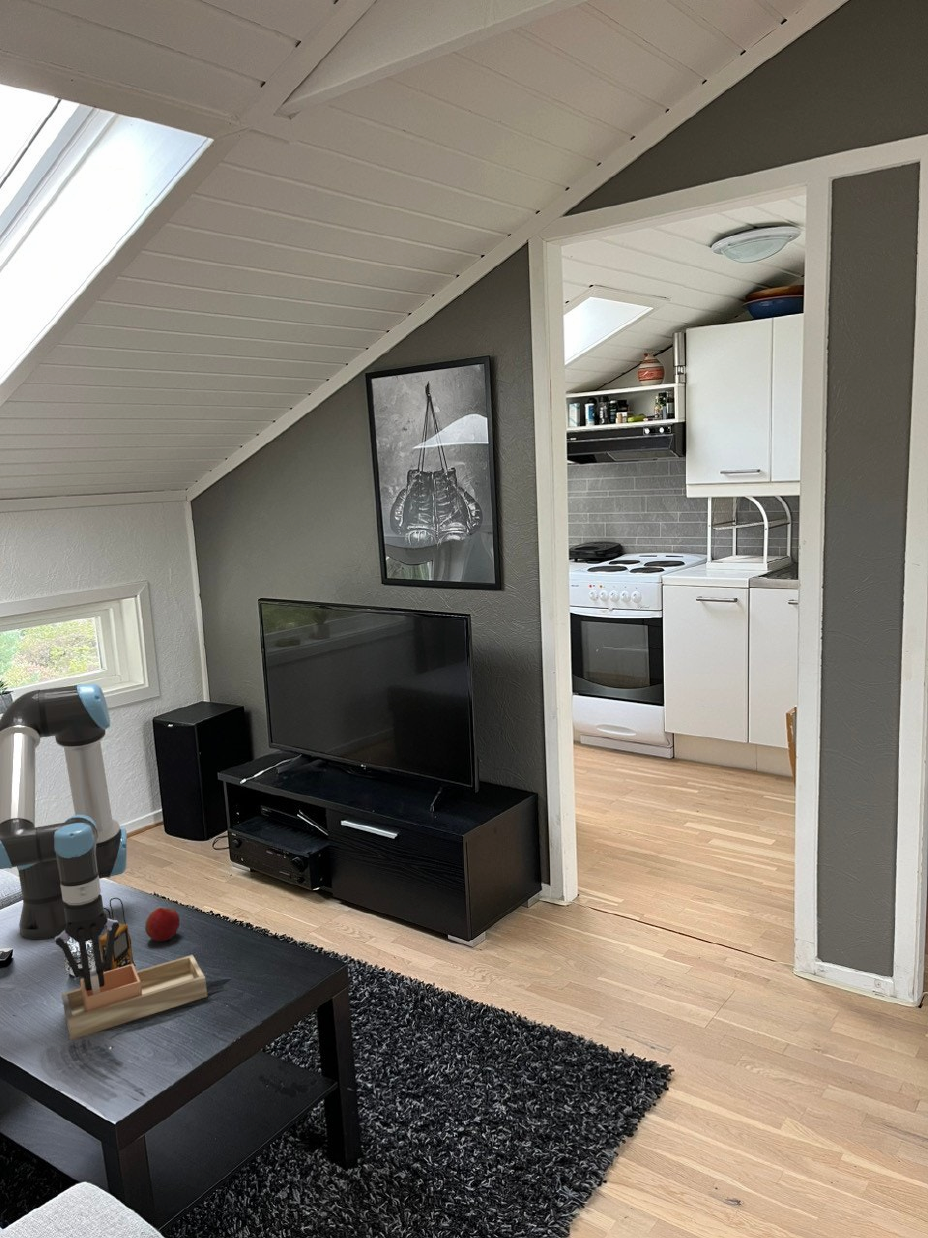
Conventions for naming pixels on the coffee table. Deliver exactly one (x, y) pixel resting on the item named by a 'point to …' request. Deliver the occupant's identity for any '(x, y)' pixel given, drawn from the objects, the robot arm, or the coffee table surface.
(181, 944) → the coffee table surface
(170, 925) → the apple
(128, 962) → the multimeter
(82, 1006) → the bay
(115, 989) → the box
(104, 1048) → the coffee table surface
